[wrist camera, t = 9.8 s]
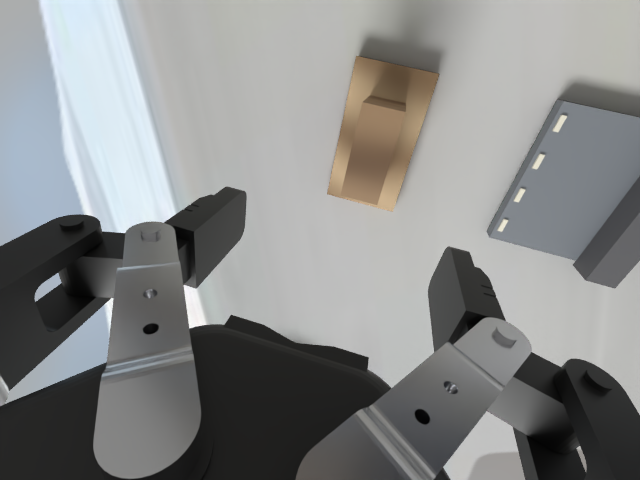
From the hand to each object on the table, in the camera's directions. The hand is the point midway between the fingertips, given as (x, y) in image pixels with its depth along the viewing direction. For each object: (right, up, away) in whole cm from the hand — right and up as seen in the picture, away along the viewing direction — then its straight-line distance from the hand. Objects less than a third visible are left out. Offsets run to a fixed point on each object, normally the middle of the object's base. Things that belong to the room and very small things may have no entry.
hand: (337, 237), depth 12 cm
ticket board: (+22, +4, +14) cm, 27 cm away
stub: (+5, +9, +16) cm, 19 cm away
